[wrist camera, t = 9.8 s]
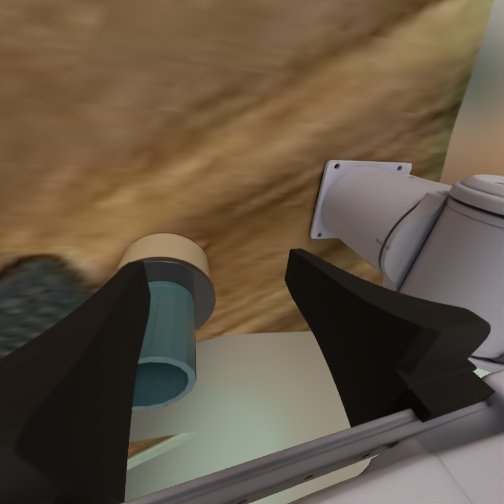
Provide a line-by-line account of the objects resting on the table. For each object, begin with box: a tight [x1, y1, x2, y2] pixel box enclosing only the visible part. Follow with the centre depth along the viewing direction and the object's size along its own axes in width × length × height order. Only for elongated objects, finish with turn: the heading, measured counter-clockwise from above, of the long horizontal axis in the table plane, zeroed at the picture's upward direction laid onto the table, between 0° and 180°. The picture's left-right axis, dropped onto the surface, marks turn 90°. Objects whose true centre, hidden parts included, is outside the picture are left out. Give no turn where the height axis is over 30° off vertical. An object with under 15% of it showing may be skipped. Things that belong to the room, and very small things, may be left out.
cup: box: [132, 281, 196, 410], centre depth 15 cm, size 5×5×6 cm
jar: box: [106, 233, 216, 330], centre depth 20 cm, size 9×9×5 cm
